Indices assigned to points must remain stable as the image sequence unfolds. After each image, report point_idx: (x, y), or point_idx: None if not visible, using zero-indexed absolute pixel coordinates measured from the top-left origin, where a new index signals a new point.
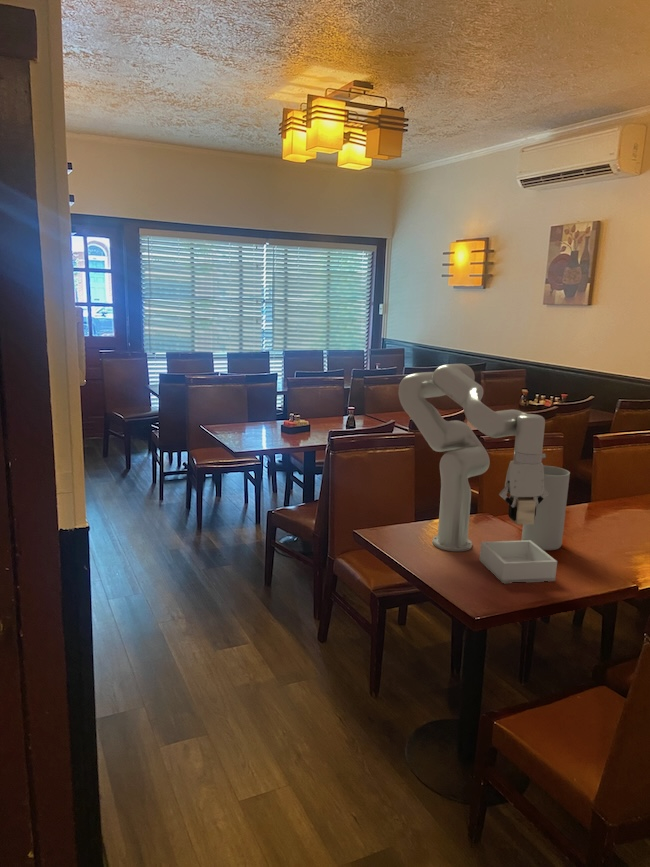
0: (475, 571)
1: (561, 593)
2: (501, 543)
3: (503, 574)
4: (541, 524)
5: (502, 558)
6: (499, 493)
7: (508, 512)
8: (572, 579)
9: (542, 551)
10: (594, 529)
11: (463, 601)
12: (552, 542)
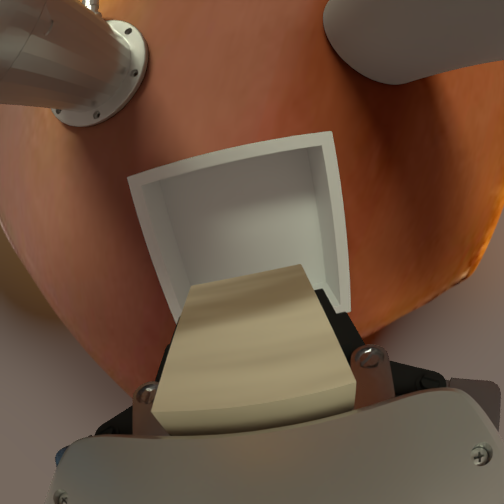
0: (133, 250)
1: None
2: (204, 167)
3: None
4: (402, 52)
5: (218, 168)
6: (56, 461)
7: (164, 353)
8: (377, 266)
9: (339, 240)
10: None
11: (120, 373)
12: (405, 81)
